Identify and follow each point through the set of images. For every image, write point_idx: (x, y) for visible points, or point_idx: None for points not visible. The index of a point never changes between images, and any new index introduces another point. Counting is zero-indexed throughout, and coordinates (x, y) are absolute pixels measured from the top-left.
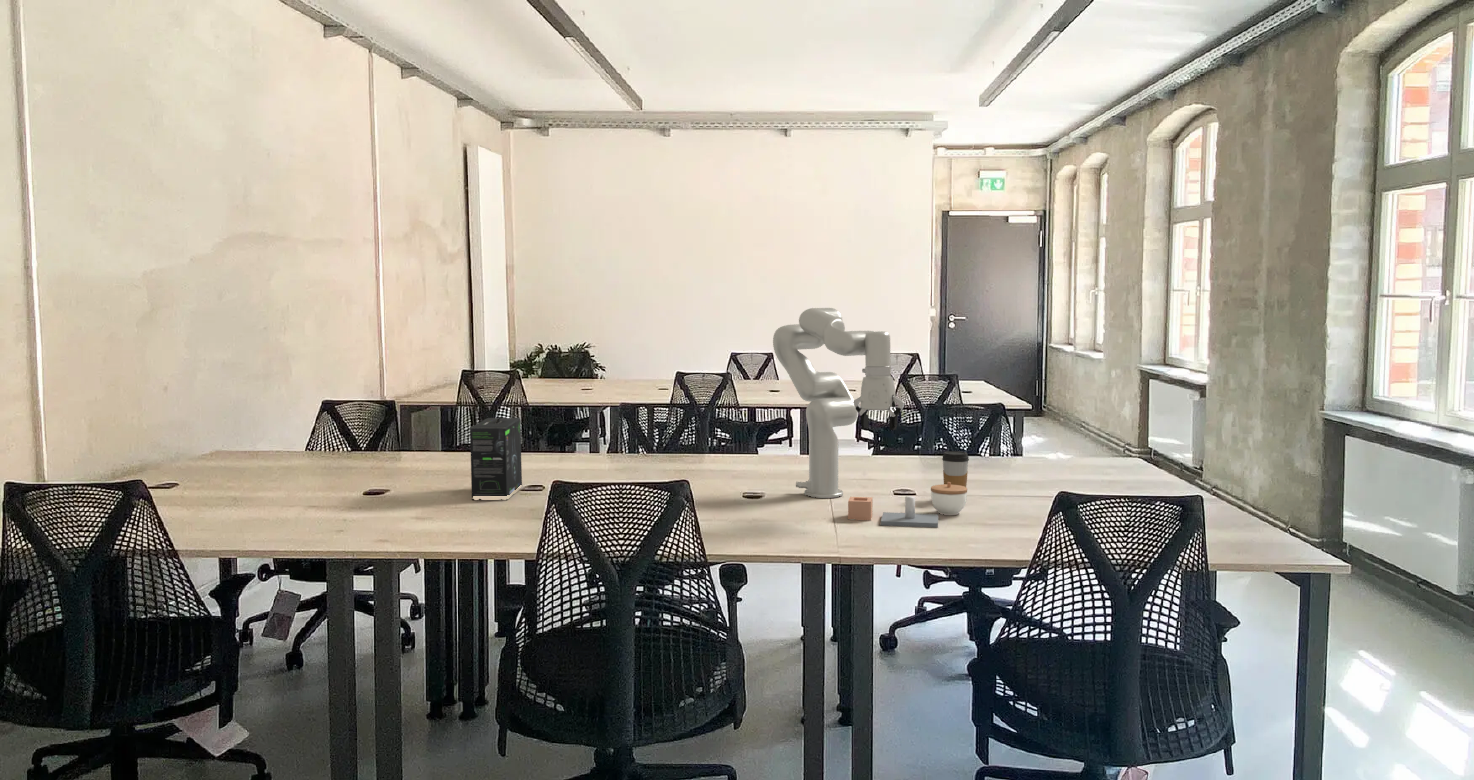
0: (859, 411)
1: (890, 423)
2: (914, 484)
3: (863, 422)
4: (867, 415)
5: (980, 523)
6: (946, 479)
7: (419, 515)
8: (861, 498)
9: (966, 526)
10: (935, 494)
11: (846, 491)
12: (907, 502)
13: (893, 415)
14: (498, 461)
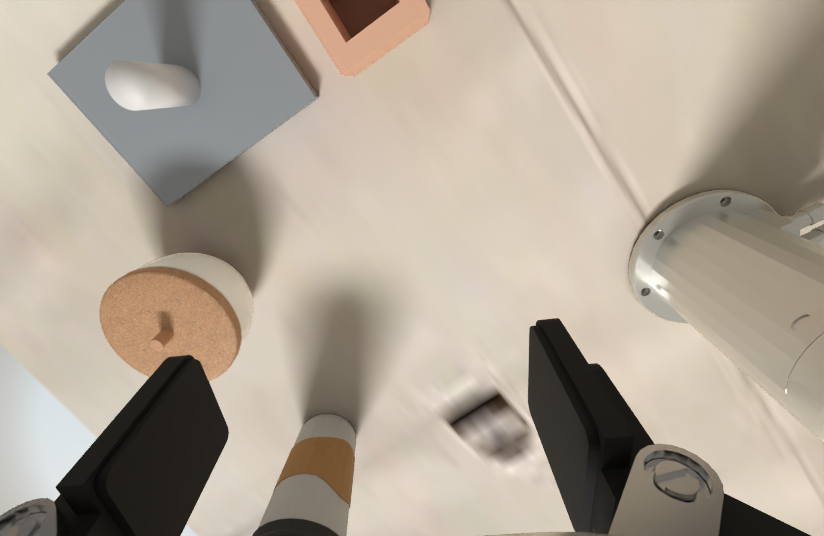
0: (740, 529)
1: (136, 403)
2: (523, 508)
3: (555, 366)
4: (579, 521)
5: (46, 229)
6: (321, 461)
7: None
8: (370, 24)
9: (30, 161)
10: (181, 267)
11: (650, 345)
12: (135, 61)
13: (19, 526)
14: None
